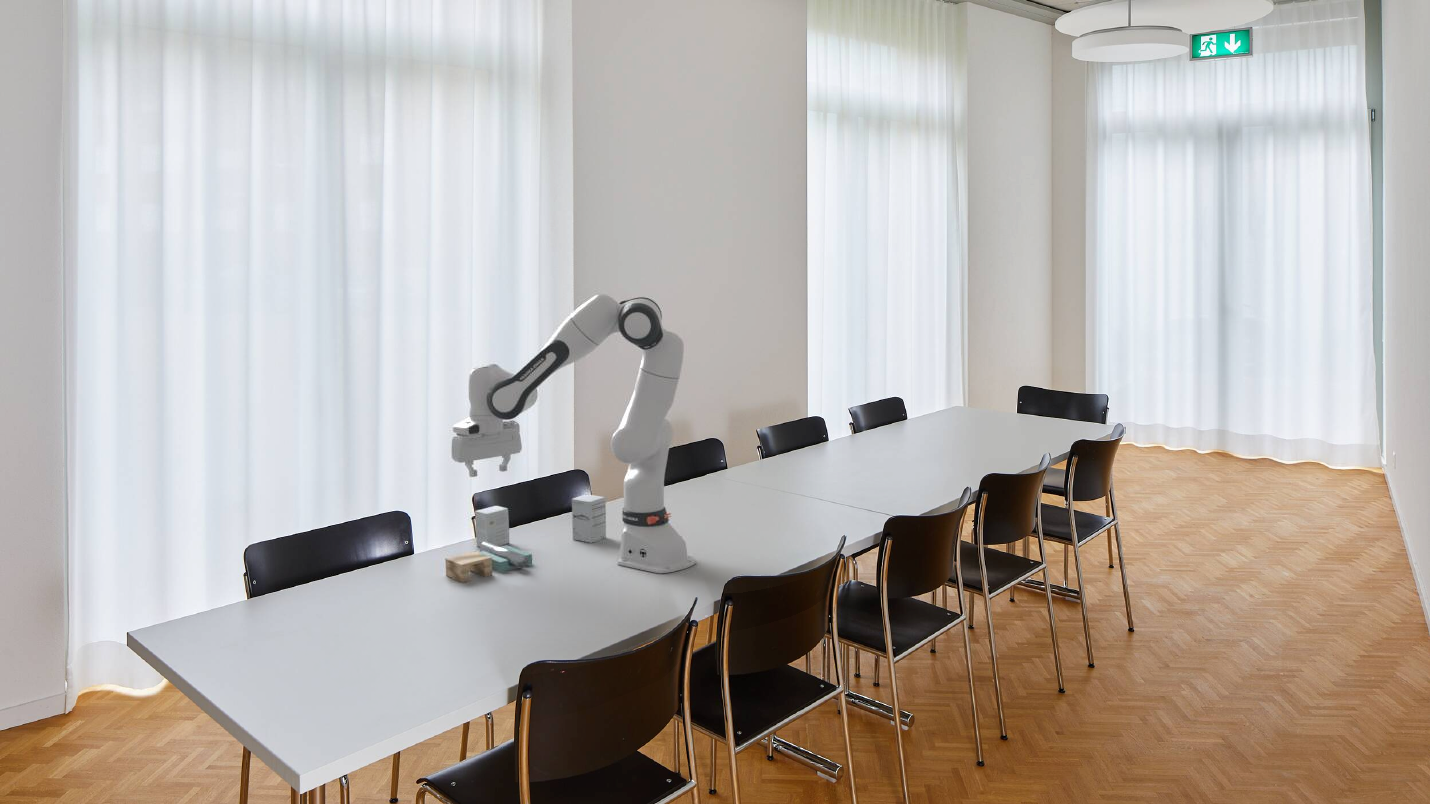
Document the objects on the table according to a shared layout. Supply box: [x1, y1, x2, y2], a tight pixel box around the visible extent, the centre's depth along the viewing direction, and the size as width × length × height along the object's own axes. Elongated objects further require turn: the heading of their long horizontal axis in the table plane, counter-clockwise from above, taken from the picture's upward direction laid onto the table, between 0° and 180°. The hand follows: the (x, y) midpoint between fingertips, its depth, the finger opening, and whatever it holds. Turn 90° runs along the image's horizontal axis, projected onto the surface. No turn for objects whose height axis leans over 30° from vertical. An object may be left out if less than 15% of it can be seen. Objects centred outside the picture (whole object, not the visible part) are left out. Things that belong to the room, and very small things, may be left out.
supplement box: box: [571, 493, 607, 544], centre depth 285 cm, size 7×7×13 cm
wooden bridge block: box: [445, 551, 493, 583], centre depth 253 cm, size 8×9×5 cm
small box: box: [474, 505, 511, 547], centre depth 281 cm, size 8×6×10 cm
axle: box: [479, 541, 527, 569], centre depth 263 cm, size 18×4×4 cm, turn 46°
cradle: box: [478, 544, 533, 573], centre depth 263 cm, size 12×10×3 cm
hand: (488, 473), depth 264 cm, fingers open, 8 cm apart
